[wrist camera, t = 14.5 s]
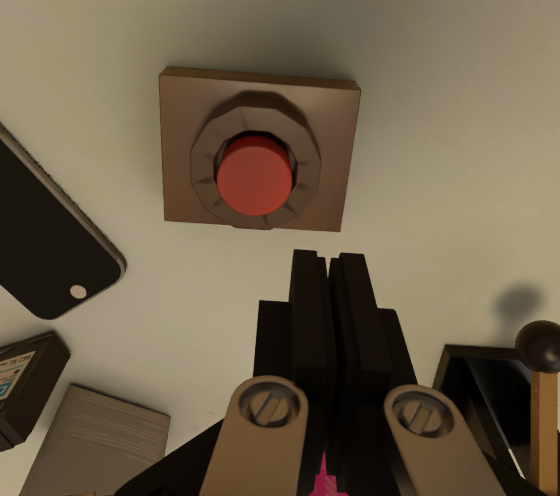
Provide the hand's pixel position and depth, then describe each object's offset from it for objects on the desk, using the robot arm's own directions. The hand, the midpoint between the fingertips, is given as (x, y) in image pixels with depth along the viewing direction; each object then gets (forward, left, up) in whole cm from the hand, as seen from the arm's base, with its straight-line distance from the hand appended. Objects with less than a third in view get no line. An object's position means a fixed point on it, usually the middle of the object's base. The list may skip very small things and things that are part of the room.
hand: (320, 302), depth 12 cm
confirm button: (+2, +2, -14) cm, 15 cm away
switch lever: (-16, +17, -12) cm, 26 cm away
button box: (+2, +2, -18) cm, 18 cm away
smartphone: (+17, +7, -18) cm, 26 cm away
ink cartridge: (+17, +18, -18) cm, 31 cm away
